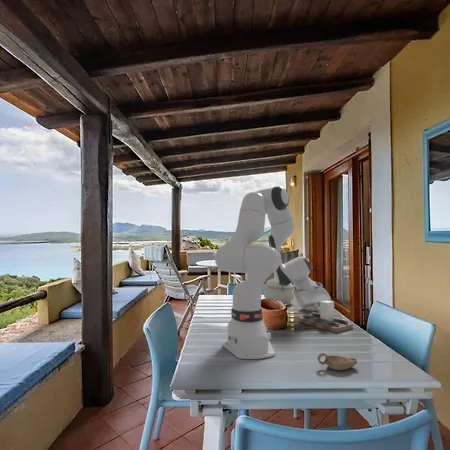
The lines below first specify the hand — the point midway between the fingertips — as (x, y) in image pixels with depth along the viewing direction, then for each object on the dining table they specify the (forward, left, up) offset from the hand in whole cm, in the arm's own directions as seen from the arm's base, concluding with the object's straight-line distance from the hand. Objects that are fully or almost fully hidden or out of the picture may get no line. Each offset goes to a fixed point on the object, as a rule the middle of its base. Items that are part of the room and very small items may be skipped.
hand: (322, 312), depth 166 cm
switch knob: (-2, -1, -3) cm, 4 cm away
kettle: (+49, +3, -6) cm, 50 cm away
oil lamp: (-49, +20, -6) cm, 53 cm away
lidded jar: (+29, -9, -6) cm, 31 cm away
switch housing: (-1, -1, -6) cm, 6 cm away
